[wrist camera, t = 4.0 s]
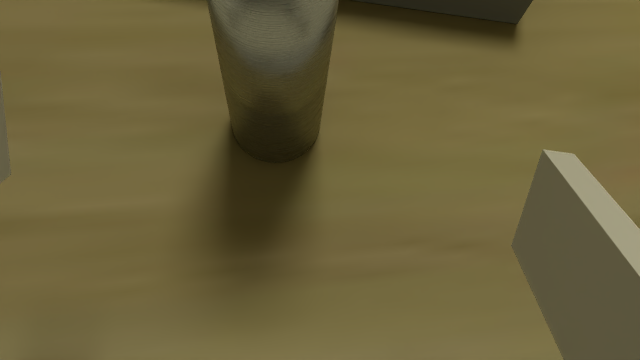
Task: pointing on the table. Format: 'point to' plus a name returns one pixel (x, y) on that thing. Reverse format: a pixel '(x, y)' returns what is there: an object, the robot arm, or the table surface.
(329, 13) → the steel pin
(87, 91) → the table surface
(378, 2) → the hole block
